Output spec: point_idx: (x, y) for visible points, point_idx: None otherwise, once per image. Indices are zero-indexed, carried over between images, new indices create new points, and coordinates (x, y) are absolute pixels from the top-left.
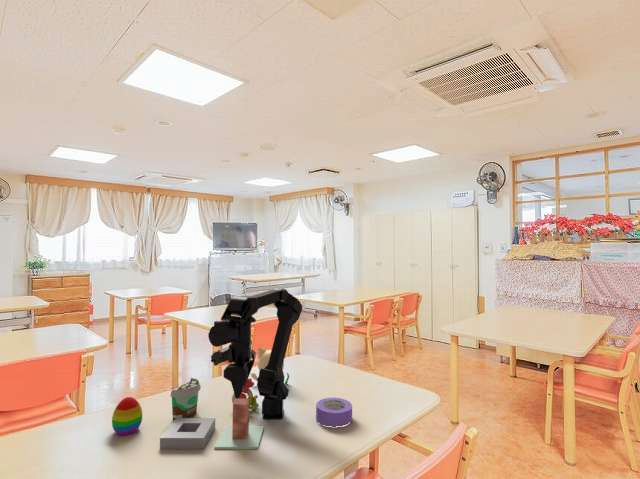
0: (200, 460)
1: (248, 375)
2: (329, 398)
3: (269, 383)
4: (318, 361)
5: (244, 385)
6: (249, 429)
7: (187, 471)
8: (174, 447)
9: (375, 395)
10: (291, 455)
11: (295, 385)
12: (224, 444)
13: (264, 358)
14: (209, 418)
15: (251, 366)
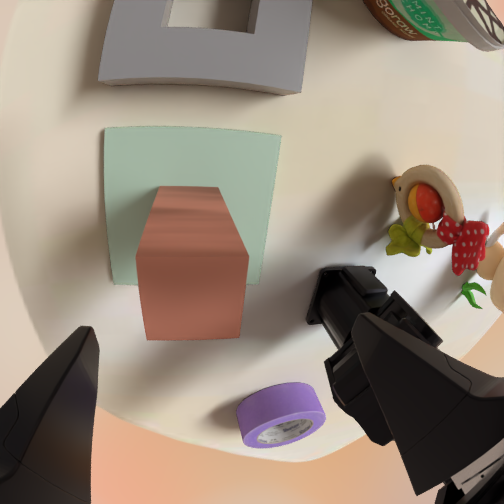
0: (44, 106)
1: (383, 412)
2: (320, 421)
3: (356, 400)
4: (492, 322)
5: (353, 334)
6: None
7: (2, 96)
8: None
9: (347, 425)
10: (104, 355)
11: (452, 309)
12: (120, 163)
13: None
14: (299, 66)
15: (411, 472)
